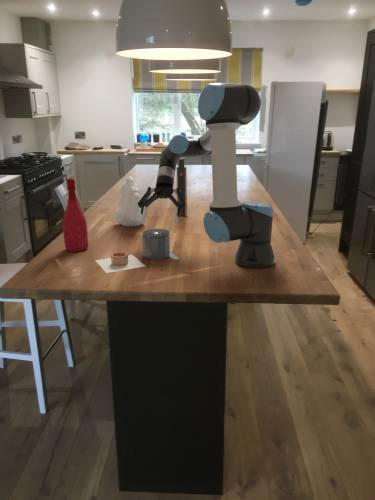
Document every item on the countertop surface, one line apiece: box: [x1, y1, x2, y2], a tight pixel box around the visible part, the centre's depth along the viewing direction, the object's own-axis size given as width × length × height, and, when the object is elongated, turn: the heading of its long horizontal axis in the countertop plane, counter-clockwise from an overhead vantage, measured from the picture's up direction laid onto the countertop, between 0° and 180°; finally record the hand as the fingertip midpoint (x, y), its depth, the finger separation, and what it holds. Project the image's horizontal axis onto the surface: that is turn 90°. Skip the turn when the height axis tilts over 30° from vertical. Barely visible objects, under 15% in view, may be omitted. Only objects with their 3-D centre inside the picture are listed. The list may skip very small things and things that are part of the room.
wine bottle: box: [62, 178, 89, 253], centre depth 169 cm, size 10×10×30 cm
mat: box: [169, 251, 181, 261], centre depth 163 cm, size 14×14×1 cm
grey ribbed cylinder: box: [142, 228, 171, 261], centre depth 161 cm, size 10×10×10 cm
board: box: [94, 254, 146, 274], centre depth 154 cm, size 15×15×1 cm
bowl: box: [110, 251, 129, 266], centre depth 153 cm, size 6×6×4 cm
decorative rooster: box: [115, 175, 147, 227], centre depth 204 cm, size 25×16×25 cm, turn 7°
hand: (159, 221), depth 167 cm, fingers open, 13 cm apart
